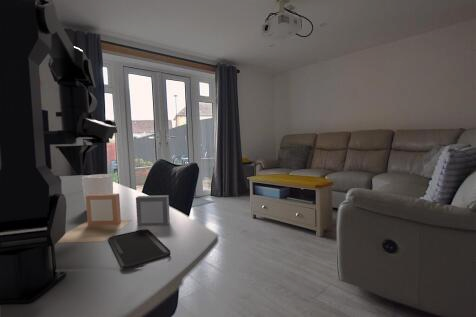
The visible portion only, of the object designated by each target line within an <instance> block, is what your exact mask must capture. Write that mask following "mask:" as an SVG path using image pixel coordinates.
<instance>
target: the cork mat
mask: <svg viewBox="0 0 476 317" xmlns="http://www.w3.org/2000/svg"><path fill="white" fill-rule="evenodd" d="M132 221H133V219H121V223H119V224H118V225H88V221H85V222H83V223H81V224H79V225H78V226H76V227H74V228H72V229H70V230H68V231H65V235H64V236H63V237H62V238H61V239H60V240H59V241H58V242H57V243H56V244H65V243H67V244H68V243H69V244H71V243H104V242H106V241H107V240H108V238H110V237H112V236H114V235H116V233H117V232H119V231H120V230H121V229H123V228H124V227H125V226H126V225H129V223H130V222H132Z"/></svg>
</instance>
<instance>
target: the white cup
mask: <svg viewBox="0 0 476 317" xmlns="http://www.w3.org/2000/svg"><path fill="white" fill-rule="evenodd" d="M113 179H114V175H113V174H111V173H100V174H98V173H97V174H90V175H84V176H82V177H81V184H82V191H83V199H84V203H85V204H86V196H87V195H89V194H114V180H113ZM85 210H86V211H87V207H86V206H85Z"/></svg>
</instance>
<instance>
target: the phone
mask: <svg viewBox="0 0 476 317" xmlns="http://www.w3.org/2000/svg"><path fill="white" fill-rule="evenodd" d="M107 240H108V243H109V246H110V248H111V250H112V252H113V254H114V255H115V258H116V259H117V262H118V263H119V267H120V270H121V271H123V272H129V271H133V270H137V269H139V268H144V267H146V266H148V265H146V264H147V263H149V262H150V263H151V262H154V261H158V260H161V259H164V258H168V257H170V258H171V256H170V255H171V250H170V249H169V248H168V247H167V246H166V245H165V244H164V242H162V241H161V240H160V239H159V238H158V237H157V236H156V235H155V234H154V233H152V231H151V230H149V229H148V228H147V229H146V228H143V229H138V230H135V231H129V232H125V233H120V234H115V235H112V236H111V237H109V238H108V239H107ZM144 264H145V265H144Z"/></svg>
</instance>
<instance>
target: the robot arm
mask: <svg viewBox="0 0 476 317" xmlns="http://www.w3.org/2000/svg"><path fill="white" fill-rule="evenodd" d="M47 56H50V57H49V60H48V64H47V66H48V68H49V70H50V73H51V75H52V78H53V81H54V82H55V83H57V86H58V88H57V89H58V97H59V98H58V99H59V111H56V112H55V117H56V118H60V125H61V130H60V129H59V130H44V121H43V118H44V117H43V106H42V93H41V92H42V91H41V77H40V65H41V64H42V62H44V60H45V59H46V58H47ZM96 87H97V86H96V81H95V76H94V72H93V67H92V62H91V60H90V59H88V56H87V55H86V53H85V52H84V51H83V50H82V49H80V48H79V47H76V46H74V45H73V43H72V41H71V40H70V37H69V36H68V34H67V32H66V31H65V29H64V26H63V25H62V23H61V21H60V19H59V17H58V16H57V10H56V6H55V4H54V1H53V0H0V304H23V303H24V304H28V303H29V304H30V303H32V302H34V301H35V300H36V299H39V297H40V296H42V294H45V293H46V292H47V291H48V290H50V289H51V288H52V287H53V286H54V285H56V283H58V282H60V280H62V279H63V278H65V277H66V276H67V272H66V271H64V270H63V271H61V270H60V271H56V270H57V261H56V260H57V259H56V250H55V245H56V244H58V243H57V242H58V241H59V240H60V239H61V238H62V237H63V236H64V235H65V233H66V227H67V226H66V222H67V220H66V219H67V199H66V196H65V194H63V192H62V190H63V189H62V178H60V175H58V174H54V173H53V172H52V171H51V169H50V168H49V167H48V165H47V164H46V163H47V160H46V152H45V151H46V149H45V148H46V147H45V146H50V145H55V146H54V147H55V149H57V150H58V151H59V152H60V153H61V155H63V157H64V158H65V159H66V161H67V162H68V164H69V165H70V166H71V169H72V170H73V172H74V173H75V174H76V176H77V175H79V176H80V175H83V174H84V172H85V168H86V165H87V162H88V158H89V155H90V153H91V151H93V150H94V149H95V148H97V147H98V144H109V143H110V140H113V138H114V136H115V135H114V134H117V133H118V130H117V128H118V127H117V124H116V123H117V122H116V121H114V120H111V119H105V121H104V122H103V121H99V120H96V118H95V115H94V113H92V112H94V111H95V110H96V108H97V106H98V100H97V98H96V97H95V96H94V94H93V93H91V92H90V88H96ZM45 228H46V229H45ZM38 229H41V230H38ZM28 230H33V231H28ZM19 231H24V232H19ZM11 232H12V233H11ZM13 232H15V233H13ZM16 232H17V233H16ZM2 233H7V234H2Z"/></svg>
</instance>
